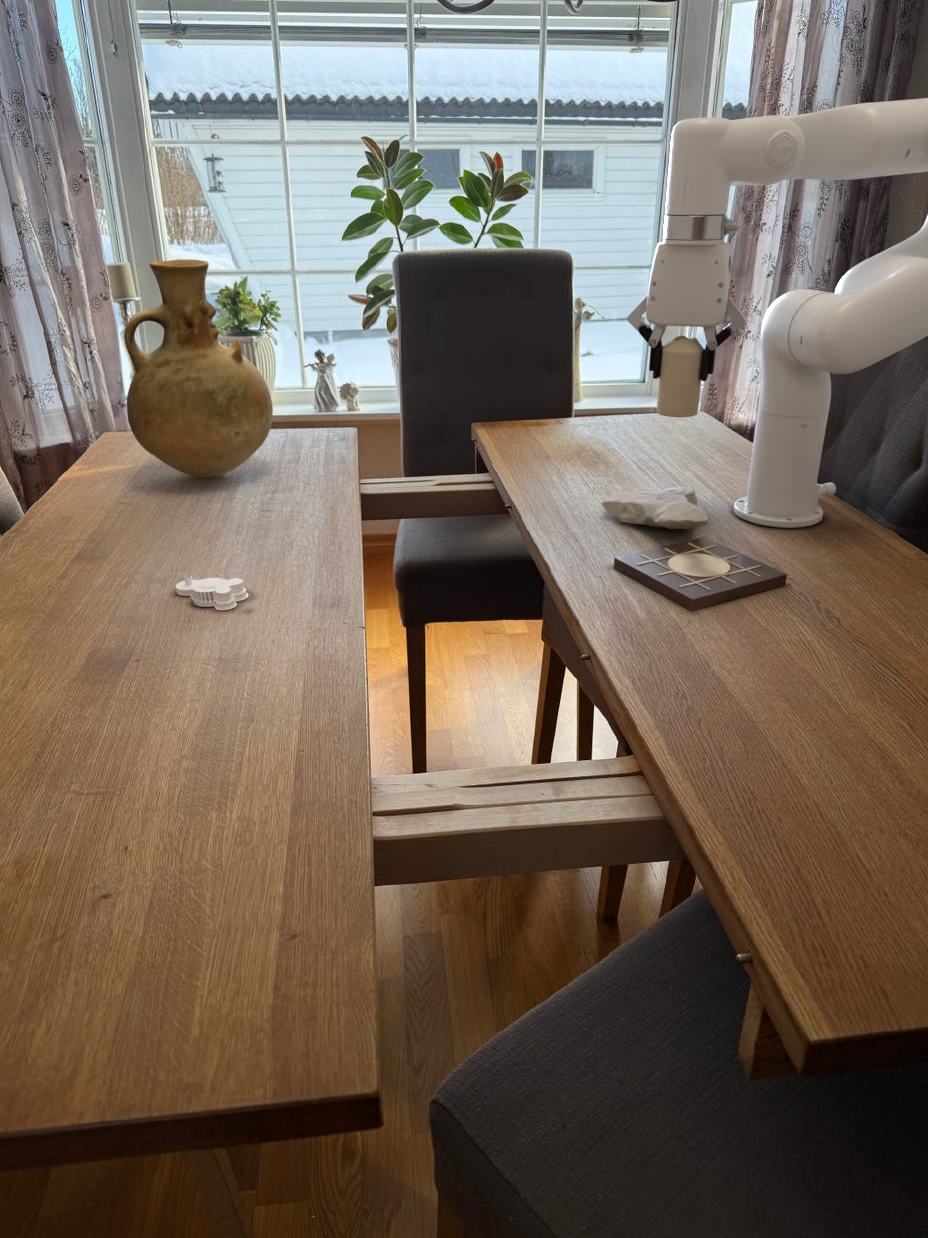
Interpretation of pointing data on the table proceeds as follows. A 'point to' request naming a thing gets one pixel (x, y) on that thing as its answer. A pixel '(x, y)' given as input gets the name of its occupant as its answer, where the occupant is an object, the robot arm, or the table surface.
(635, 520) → the rock
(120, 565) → the table surface
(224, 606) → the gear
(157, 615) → the table surface
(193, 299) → the vase
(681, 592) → the board
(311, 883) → the table surface
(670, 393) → the candle
